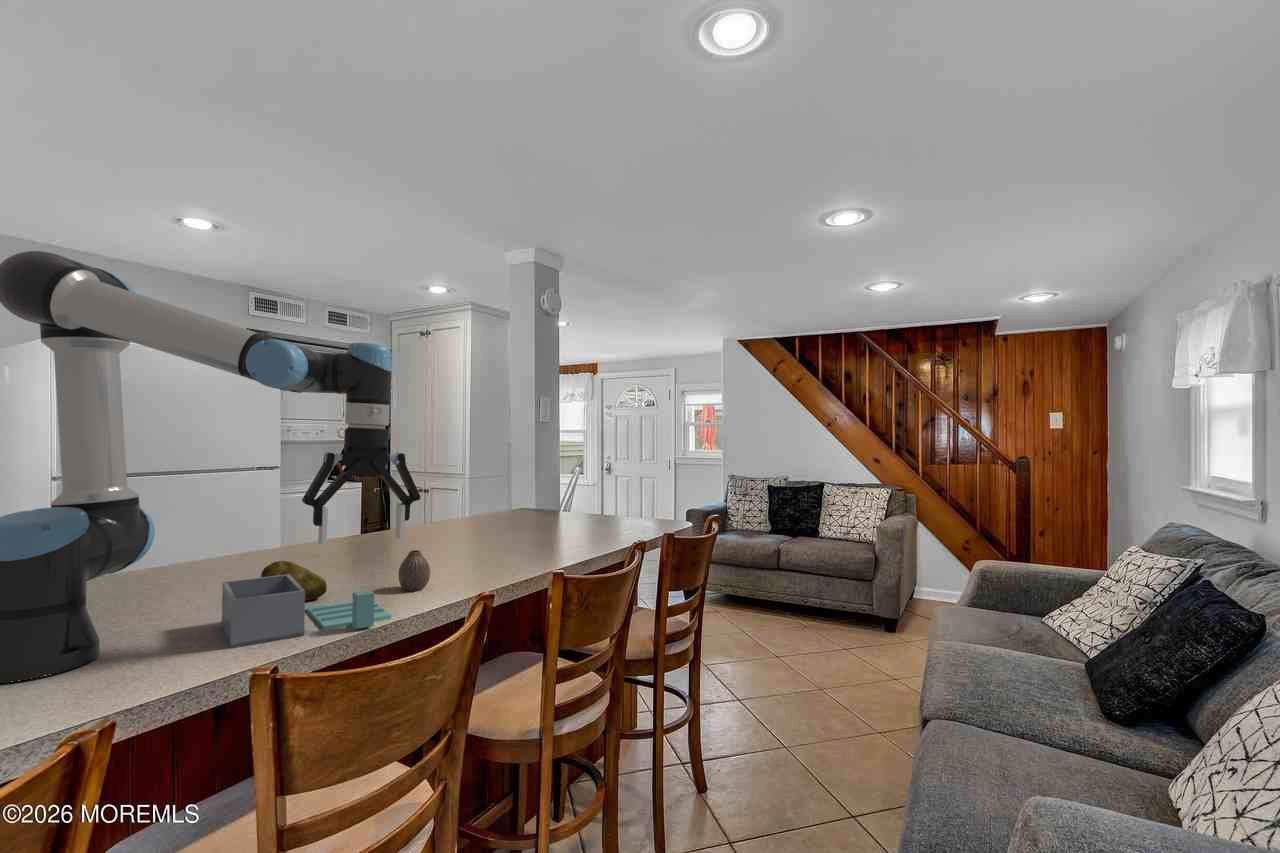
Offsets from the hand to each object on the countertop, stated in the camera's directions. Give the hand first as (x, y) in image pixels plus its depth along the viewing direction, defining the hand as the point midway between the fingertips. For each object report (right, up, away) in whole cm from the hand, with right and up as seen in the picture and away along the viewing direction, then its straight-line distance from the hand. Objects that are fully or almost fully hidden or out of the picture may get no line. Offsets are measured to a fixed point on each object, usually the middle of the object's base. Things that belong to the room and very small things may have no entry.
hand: (362, 540), depth 116 cm
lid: (-5, -16, +6) cm, 18 cm away
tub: (-17, -16, -2) cm, 24 cm away
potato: (-23, -16, +18) cm, 33 cm away
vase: (0, -17, +28) cm, 32 cm away
